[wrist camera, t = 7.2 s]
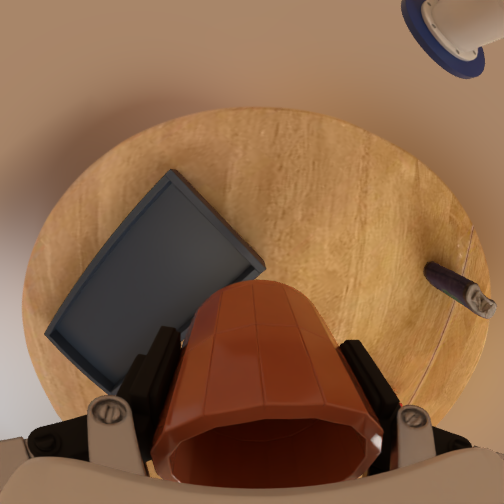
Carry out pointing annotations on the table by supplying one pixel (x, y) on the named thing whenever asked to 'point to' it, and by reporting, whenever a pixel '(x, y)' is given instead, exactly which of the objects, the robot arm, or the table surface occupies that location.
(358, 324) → the table surface
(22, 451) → the robot arm
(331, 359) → the flower pot
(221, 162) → the table surface
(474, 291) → the flask
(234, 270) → the tray
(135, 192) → the table surface
